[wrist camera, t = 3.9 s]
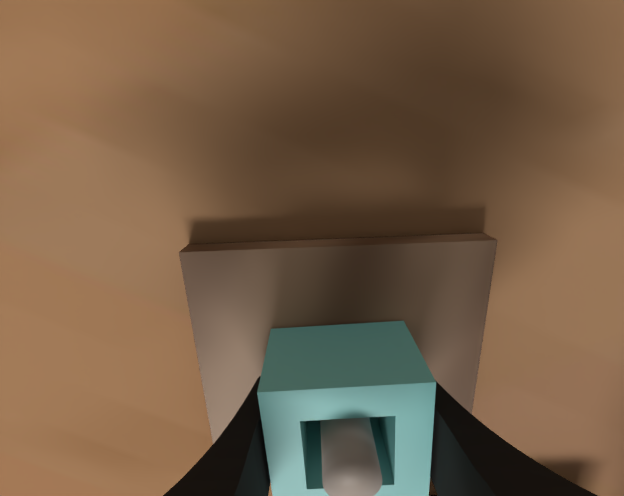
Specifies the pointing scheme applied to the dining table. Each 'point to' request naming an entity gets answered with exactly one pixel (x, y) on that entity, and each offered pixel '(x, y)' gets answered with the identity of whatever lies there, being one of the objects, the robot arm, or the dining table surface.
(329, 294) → the stake board
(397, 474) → the collar
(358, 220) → the dining table surface
